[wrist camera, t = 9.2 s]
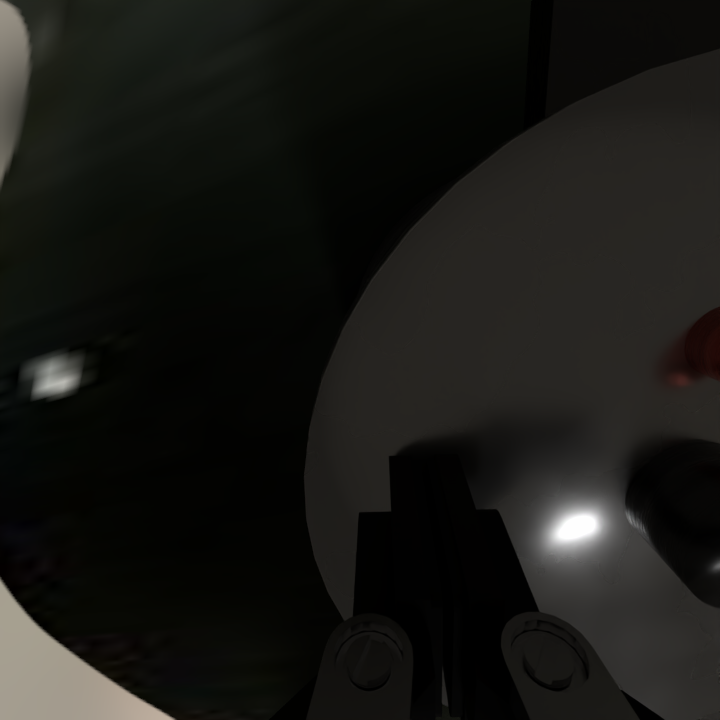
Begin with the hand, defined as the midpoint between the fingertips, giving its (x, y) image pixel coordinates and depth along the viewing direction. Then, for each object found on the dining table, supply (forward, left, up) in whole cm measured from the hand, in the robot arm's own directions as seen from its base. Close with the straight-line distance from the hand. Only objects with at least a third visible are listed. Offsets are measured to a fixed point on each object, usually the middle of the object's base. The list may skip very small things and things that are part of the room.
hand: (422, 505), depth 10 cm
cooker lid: (0, -7, -2) cm, 7 cm away
